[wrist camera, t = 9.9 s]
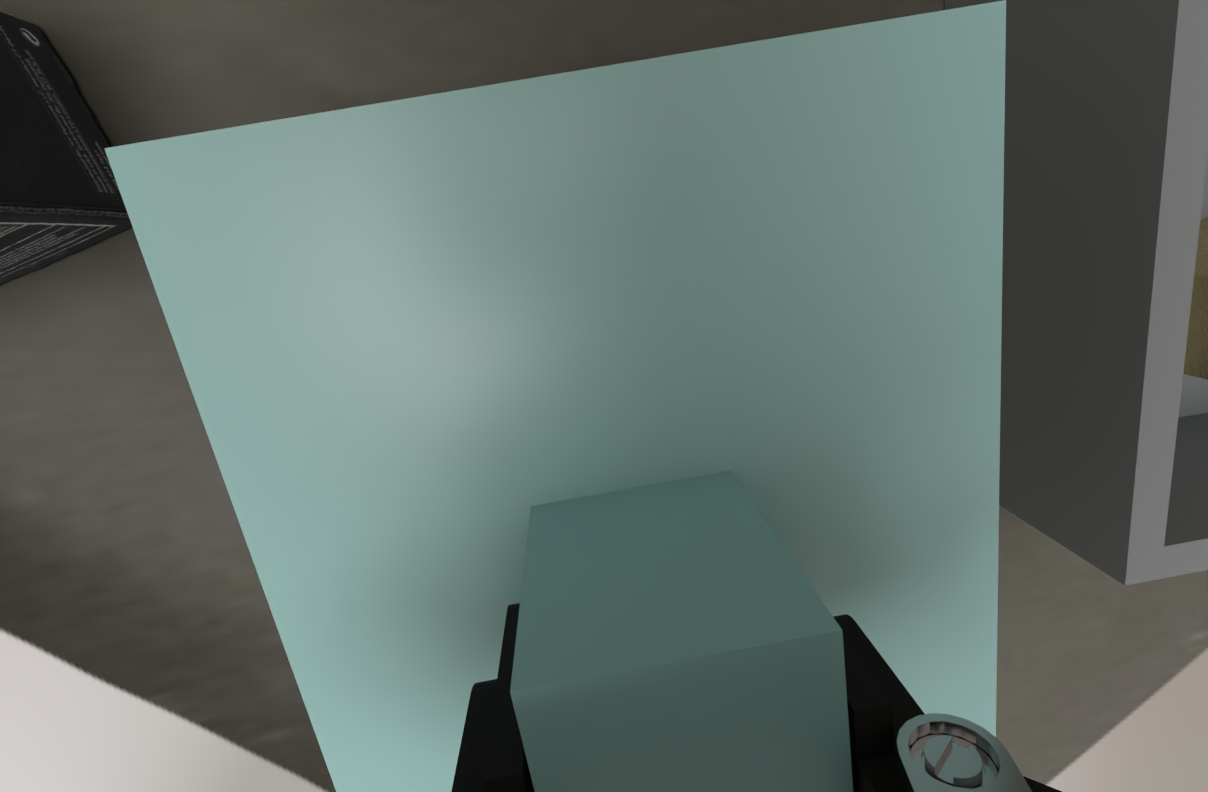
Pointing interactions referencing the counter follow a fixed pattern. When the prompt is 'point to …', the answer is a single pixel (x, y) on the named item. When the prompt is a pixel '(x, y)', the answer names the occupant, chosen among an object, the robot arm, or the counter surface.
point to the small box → (48, 159)
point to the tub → (1104, 279)
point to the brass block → (1199, 311)
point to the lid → (612, 398)
